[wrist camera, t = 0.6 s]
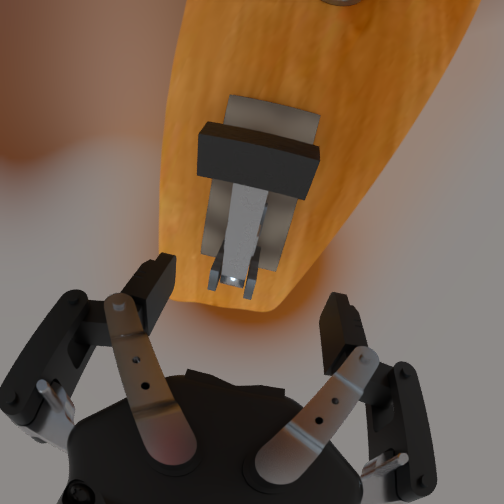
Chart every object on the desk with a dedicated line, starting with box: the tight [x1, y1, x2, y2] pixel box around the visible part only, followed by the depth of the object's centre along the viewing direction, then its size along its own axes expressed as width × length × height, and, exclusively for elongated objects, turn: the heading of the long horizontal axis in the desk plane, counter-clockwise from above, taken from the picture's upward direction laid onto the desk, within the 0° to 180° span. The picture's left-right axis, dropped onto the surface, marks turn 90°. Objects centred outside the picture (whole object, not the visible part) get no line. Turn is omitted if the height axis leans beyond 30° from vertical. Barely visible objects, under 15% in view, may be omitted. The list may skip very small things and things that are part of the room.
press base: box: [201, 95, 320, 300], centre depth 34 cm, size 24×12×11 cm, turn 168°
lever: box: [197, 122, 320, 288], centre depth 28 cm, size 21×9×4 cm, turn 168°
